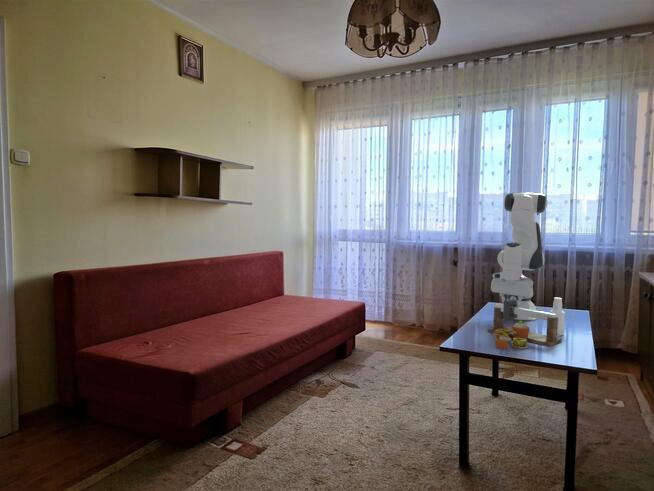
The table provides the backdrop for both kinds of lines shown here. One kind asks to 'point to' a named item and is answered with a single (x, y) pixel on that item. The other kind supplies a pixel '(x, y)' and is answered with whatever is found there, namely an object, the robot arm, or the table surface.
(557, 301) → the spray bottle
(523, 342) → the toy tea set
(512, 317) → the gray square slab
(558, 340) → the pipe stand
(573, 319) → the table surface
